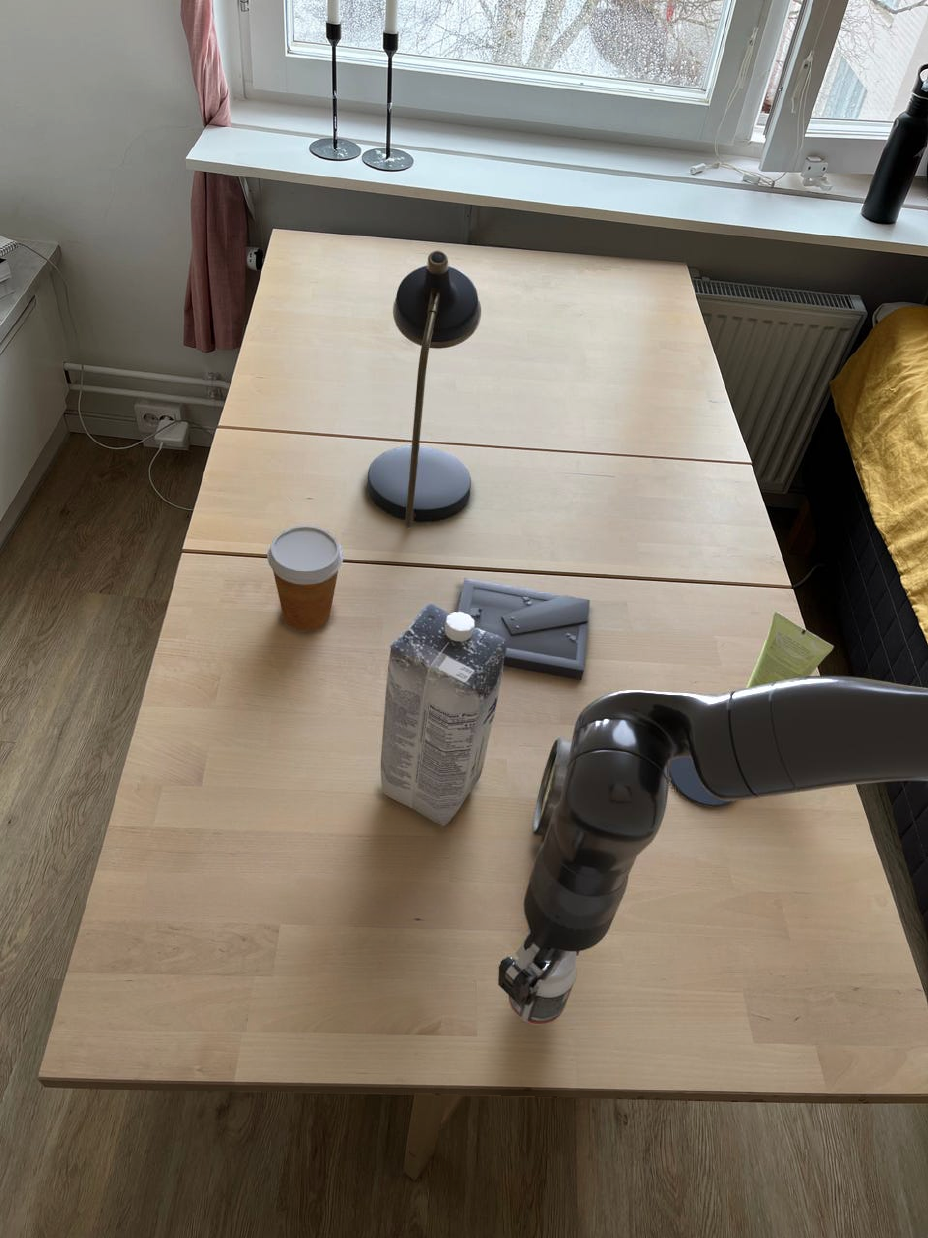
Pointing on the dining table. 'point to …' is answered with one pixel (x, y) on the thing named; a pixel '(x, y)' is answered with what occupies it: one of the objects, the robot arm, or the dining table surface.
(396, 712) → the juice carton
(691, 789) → the coaster
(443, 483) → the lamp
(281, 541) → the disposable coffee cup
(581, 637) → the picture frame
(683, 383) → the dining table surface
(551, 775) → the alarm clock
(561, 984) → the pill bottle
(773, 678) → the tube
